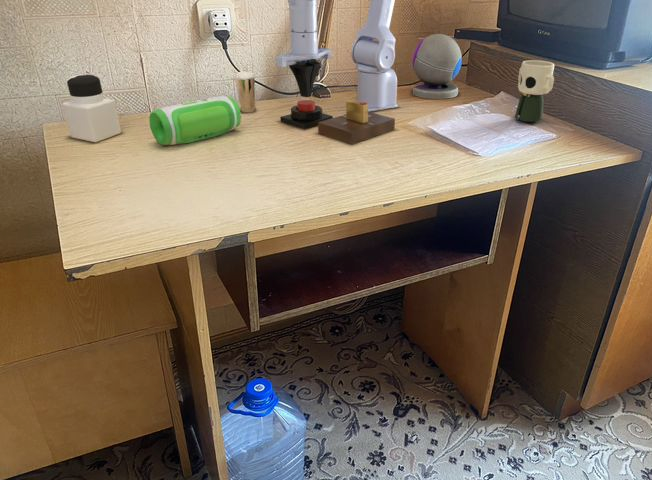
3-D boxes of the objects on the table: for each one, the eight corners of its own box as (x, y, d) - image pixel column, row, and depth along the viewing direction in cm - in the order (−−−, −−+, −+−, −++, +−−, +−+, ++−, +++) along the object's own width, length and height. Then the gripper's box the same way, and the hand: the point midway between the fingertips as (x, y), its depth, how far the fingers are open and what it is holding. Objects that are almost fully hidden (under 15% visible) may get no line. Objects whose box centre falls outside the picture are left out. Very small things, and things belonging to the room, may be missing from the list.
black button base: (309, 114, 131) (308, 101, 129) (332, 121, 126) (332, 108, 125) (280, 121, 125) (279, 108, 124) (304, 129, 121) (303, 116, 119)
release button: (306, 106, 127) (306, 98, 126) (318, 110, 125) (318, 102, 124) (294, 109, 124) (293, 102, 123) (306, 113, 122) (305, 105, 121)
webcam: (419, 85, 157) (423, 29, 150) (463, 90, 153) (469, 32, 145) (404, 95, 147) (408, 35, 139) (450, 101, 143) (457, 40, 135)
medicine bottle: (122, 133, 116) (109, 74, 110) (95, 143, 111) (80, 82, 104) (97, 128, 119) (83, 71, 112) (70, 137, 113) (54, 78, 107)
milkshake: (260, 107, 135) (257, 65, 130) (254, 113, 130) (251, 70, 125) (242, 106, 135) (238, 64, 130) (236, 113, 131) (231, 69, 125)
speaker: (225, 125, 122) (221, 91, 118) (244, 133, 118) (241, 97, 114) (151, 142, 112) (144, 105, 108) (169, 151, 107) (162, 113, 103)
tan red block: (346, 118, 120) (346, 99, 118) (351, 117, 121) (351, 98, 119) (363, 123, 117) (363, 104, 115) (368, 121, 118) (368, 103, 116)
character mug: (501, 116, 133) (510, 59, 126) (524, 112, 135) (533, 57, 128) (531, 128, 124) (543, 69, 117) (555, 125, 127) (567, 66, 120)
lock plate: (361, 120, 127) (361, 108, 126) (394, 129, 122) (395, 117, 120) (318, 133, 119) (317, 121, 117) (351, 144, 113) (352, 131, 112)
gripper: (290, 36, 109) (293, 105, 116) (341, 29, 118) (341, 93, 125) (267, 32, 113) (272, 99, 120) (318, 25, 122) (319, 88, 129)
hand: (305, 96), depth 123 cm, fingers closed
